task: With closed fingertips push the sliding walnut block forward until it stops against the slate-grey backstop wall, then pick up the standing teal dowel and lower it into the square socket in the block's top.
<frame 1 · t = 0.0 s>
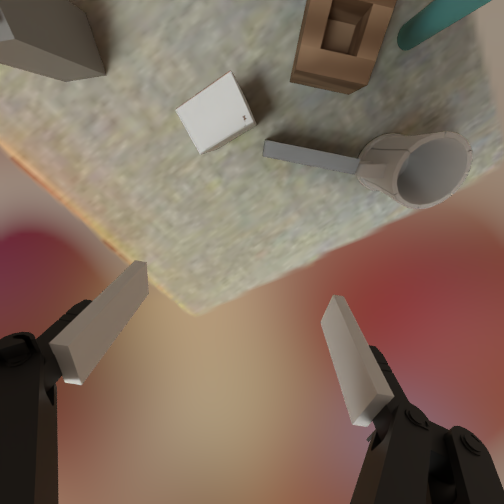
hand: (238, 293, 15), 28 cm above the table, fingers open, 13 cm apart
dowel: (409, 35, 29), on the table
block: (336, 38, 27), point 3 cm above the table, slide at 0.0 cm
backstop wall: (301, 153, 36), on the table
perfume bottle: (75, 49, 31), on the table
small box: (227, 121, 35), on the table
cup: (376, 165, 37), on the table
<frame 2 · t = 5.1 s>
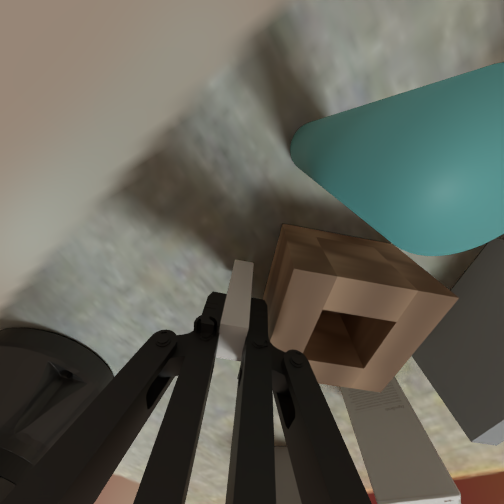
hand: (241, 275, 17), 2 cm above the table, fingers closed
dowel: (313, 147, 14), on the table
block: (330, 305, 16), point 3 cm above the table, slide at 0.8 cm, touching gripper
backstop wall: (452, 302, 20), on the table
perfume bottle: (279, 454, 36), on the table
small box: (365, 378, 26), on the table
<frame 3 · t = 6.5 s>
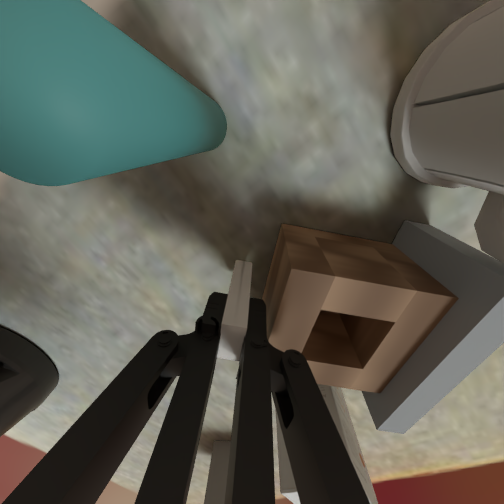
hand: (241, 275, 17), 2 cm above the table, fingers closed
dowel: (203, 125, 14), on the table
block: (329, 305, 16), point 3 cm above the table, slide at 8.0 cm, touching backstop wall, gripper
backstop wall: (378, 289, 19), on the table
perfume bottle: (237, 448, 36), on the table
small box: (307, 370, 25), on the table
cup: (463, 122, 13), on the table
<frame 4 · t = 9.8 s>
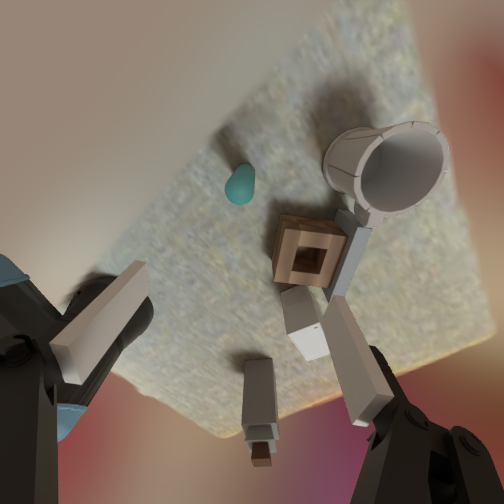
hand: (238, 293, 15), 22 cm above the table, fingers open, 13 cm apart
dowel: (245, 173, 33), on the table
block: (304, 250, 35), point 3 cm above the table, slide at 8.0 cm
backstop wall: (331, 245, 38), on the table
perfume bottle: (260, 367, 55), on the table
small box: (300, 299, 44), on the table
cup: (353, 167, 32), on the table
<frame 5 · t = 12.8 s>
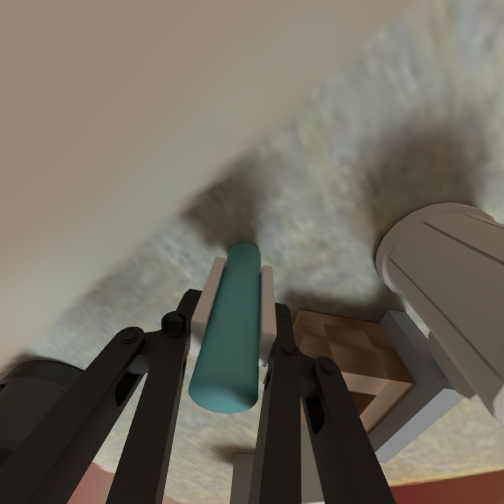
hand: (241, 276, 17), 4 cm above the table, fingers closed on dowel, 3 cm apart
dowel: (244, 257, 20), point 1 cm above the table, touching gripper
block: (333, 370, 22), point 3 cm above the table, slide at 8.0 cm
backstop wall: (369, 350, 26), on the table
perfume bottle: (254, 459, 43), on the table
small box: (314, 402, 32), on the table
cup: (425, 256, 20), on the table
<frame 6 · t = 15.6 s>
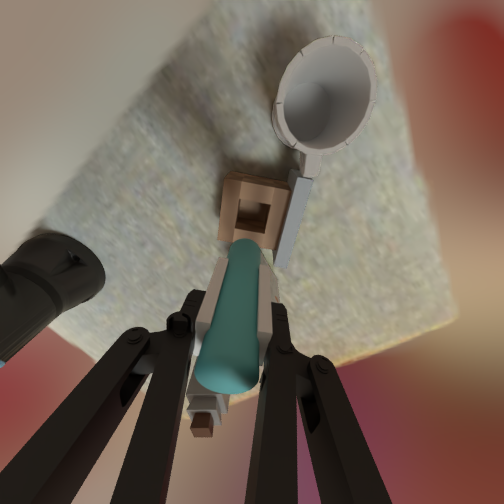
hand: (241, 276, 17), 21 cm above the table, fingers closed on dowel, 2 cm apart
dowel: (244, 252, 20), point 17 cm above the table, touching gripper
block: (253, 210, 33), point 3 cm above the table, slide at 8.0 cm
backstop wall: (285, 210, 36), on the table
perfume bottle: (219, 343, 53), on the table
small box: (257, 270, 42), on the table
cup: (305, 120, 30), on the table
when the fingers open (8 cm above the table, at t = 18.6 s): dowel drops 3 cm, resting on block.
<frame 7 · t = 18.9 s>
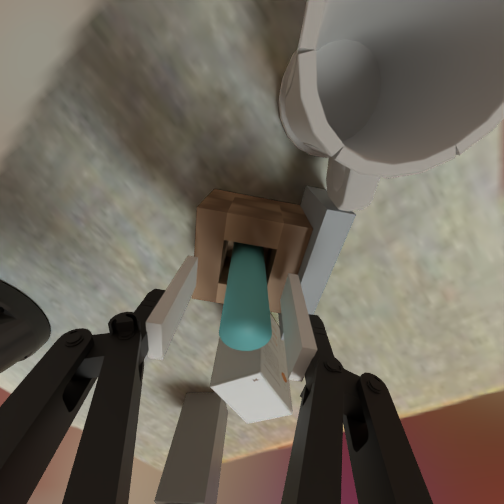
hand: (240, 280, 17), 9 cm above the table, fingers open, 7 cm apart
dowel: (248, 241, 23), point 2 cm above the table, touching block
block: (248, 249, 21), point 3 cm above the table, slide at 8.0 cm, touching dowel
backstop wall: (297, 244, 24), on the table
perfume bottle: (208, 401, 41), on the table
small box: (255, 320, 31), on the table
cup: (333, 110, 19), on the table
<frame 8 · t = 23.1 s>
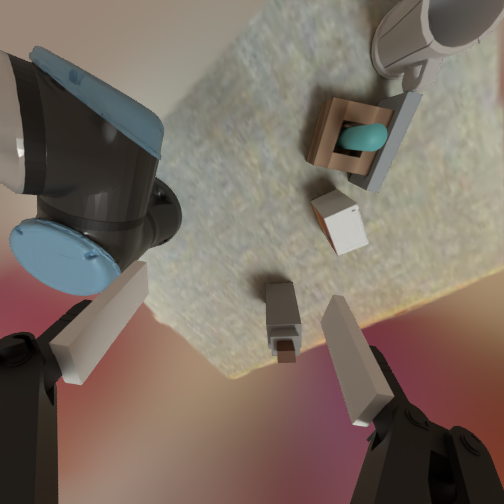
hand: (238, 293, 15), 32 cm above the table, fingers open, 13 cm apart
dowel: (340, 138, 37), point 2 cm above the table, touching block
block: (344, 139, 35), point 3 cm above the table, slide at 8.0 cm, touching dowel
backstop wall: (368, 145, 38), on the table
perfume bottle: (279, 293, 55), on the table
small box: (329, 211, 45), on the table
cup: (401, 50, 32), on the table
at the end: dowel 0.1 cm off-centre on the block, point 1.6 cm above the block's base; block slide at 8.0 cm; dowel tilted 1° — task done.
